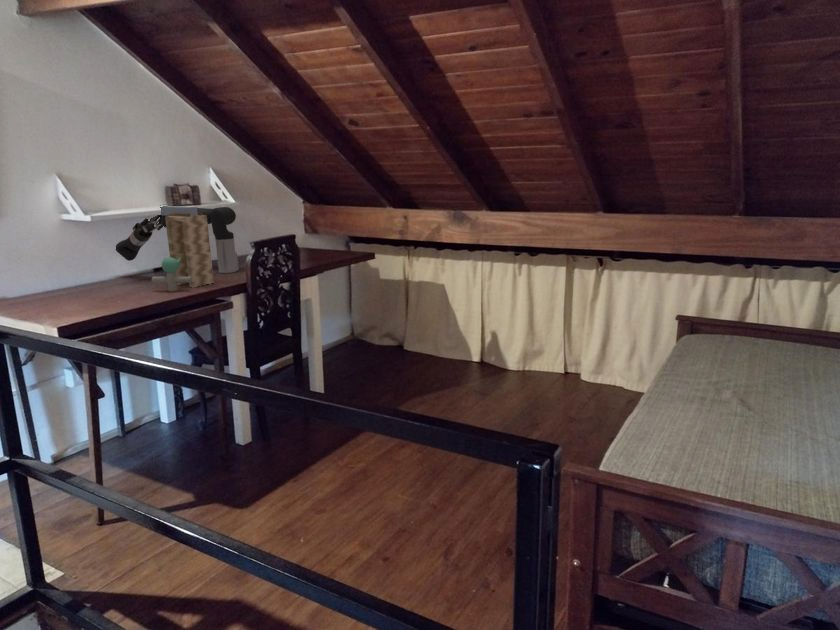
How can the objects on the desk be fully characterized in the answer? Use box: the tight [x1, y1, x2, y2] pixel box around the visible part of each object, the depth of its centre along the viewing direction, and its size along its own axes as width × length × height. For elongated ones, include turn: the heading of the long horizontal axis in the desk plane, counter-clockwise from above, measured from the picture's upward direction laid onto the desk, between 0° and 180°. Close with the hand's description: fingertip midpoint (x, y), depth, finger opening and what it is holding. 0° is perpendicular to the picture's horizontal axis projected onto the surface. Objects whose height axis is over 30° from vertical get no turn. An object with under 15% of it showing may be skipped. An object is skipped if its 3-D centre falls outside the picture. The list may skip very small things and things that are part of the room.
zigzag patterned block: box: [165, 213, 215, 289], centre depth 289 cm, size 12×14×33 cm
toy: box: [151, 256, 192, 292], centre depth 278 cm, size 18×7×15 cm, turn 84°
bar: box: [160, 205, 198, 217], centre depth 287 cm, size 4×22×4 cm, turn 57°
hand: (155, 219), depth 297 cm, fingers open, 8 cm apart
